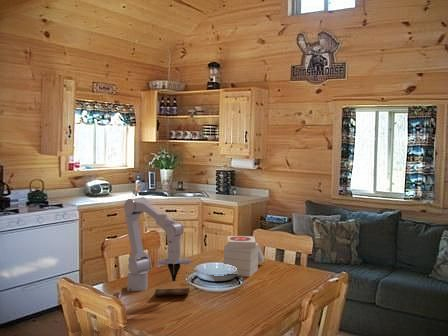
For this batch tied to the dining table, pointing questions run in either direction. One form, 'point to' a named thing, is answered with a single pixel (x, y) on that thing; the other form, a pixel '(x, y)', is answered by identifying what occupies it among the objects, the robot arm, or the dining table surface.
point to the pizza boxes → (243, 254)
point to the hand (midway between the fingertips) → (173, 280)
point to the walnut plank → (171, 291)
